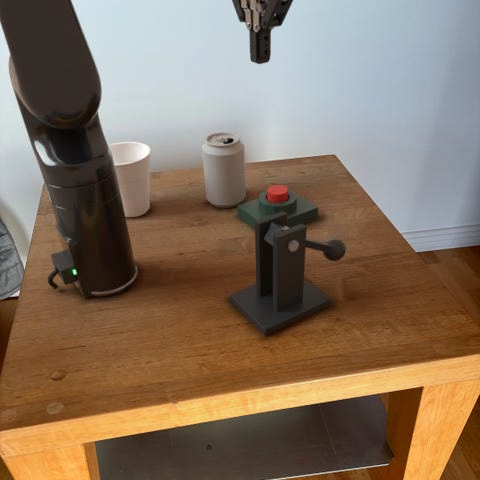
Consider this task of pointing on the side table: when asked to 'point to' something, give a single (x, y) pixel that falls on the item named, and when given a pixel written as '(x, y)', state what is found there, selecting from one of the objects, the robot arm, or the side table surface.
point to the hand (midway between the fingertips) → (260, 62)
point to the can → (224, 169)
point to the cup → (133, 176)
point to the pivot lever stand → (279, 280)
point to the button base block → (278, 209)
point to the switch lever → (312, 243)
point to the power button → (277, 194)
